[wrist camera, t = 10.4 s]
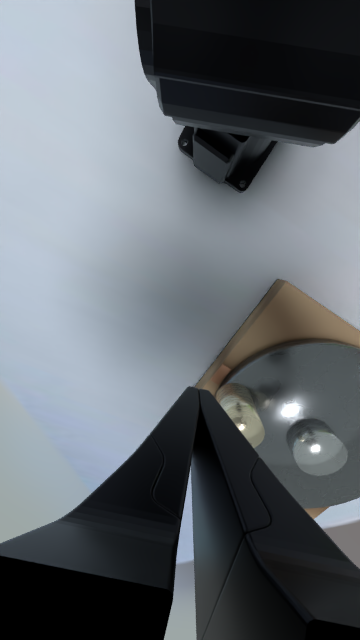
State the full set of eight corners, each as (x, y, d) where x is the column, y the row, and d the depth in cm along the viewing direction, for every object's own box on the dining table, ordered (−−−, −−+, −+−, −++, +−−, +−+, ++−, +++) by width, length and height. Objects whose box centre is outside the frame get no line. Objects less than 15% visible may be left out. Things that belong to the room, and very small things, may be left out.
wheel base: (277, 278, 19) (287, 281, 17) (439, 389, 21) (466, 403, 19) (164, 425, 25) (161, 441, 23) (301, 503, 27) (310, 524, 25)
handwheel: (172, 444, 23) (165, 501, 17) (273, 298, 18) (306, 315, 12) (317, 516, 24) (351, 588, 19) (450, 398, 19) (548, 452, 14)
